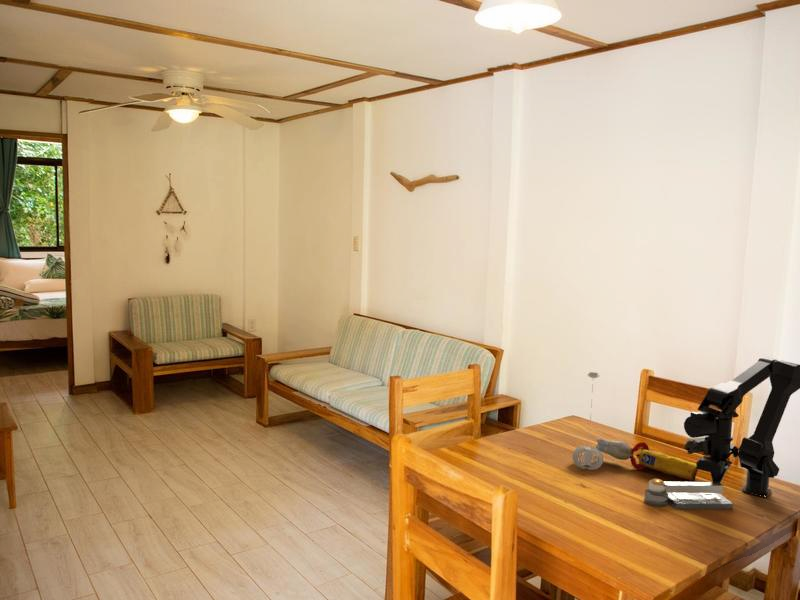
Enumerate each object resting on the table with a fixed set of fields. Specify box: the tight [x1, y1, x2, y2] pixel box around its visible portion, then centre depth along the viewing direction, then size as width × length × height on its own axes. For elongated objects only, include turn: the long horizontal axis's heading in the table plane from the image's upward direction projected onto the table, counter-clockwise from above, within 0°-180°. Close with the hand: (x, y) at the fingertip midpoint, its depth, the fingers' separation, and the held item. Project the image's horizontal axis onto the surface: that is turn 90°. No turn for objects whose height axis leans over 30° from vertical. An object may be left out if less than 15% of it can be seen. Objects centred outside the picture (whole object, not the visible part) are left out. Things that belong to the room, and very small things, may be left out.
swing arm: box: [647, 478, 724, 495], centre depth 180 cm, size 20×4×3 cm, turn 93°
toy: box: [595, 437, 699, 482], centre depth 204 cm, size 9×13×30 cm
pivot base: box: [643, 488, 669, 508], centre depth 180 cm, size 6×6×3 cm
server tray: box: [668, 493, 734, 510], centre depth 181 cm, size 16×9×2 cm, turn 94°
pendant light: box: [571, 371, 604, 471], centre depth 203 cm, size 9×9×30 cm
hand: (715, 486), depth 183 cm, fingers closed
